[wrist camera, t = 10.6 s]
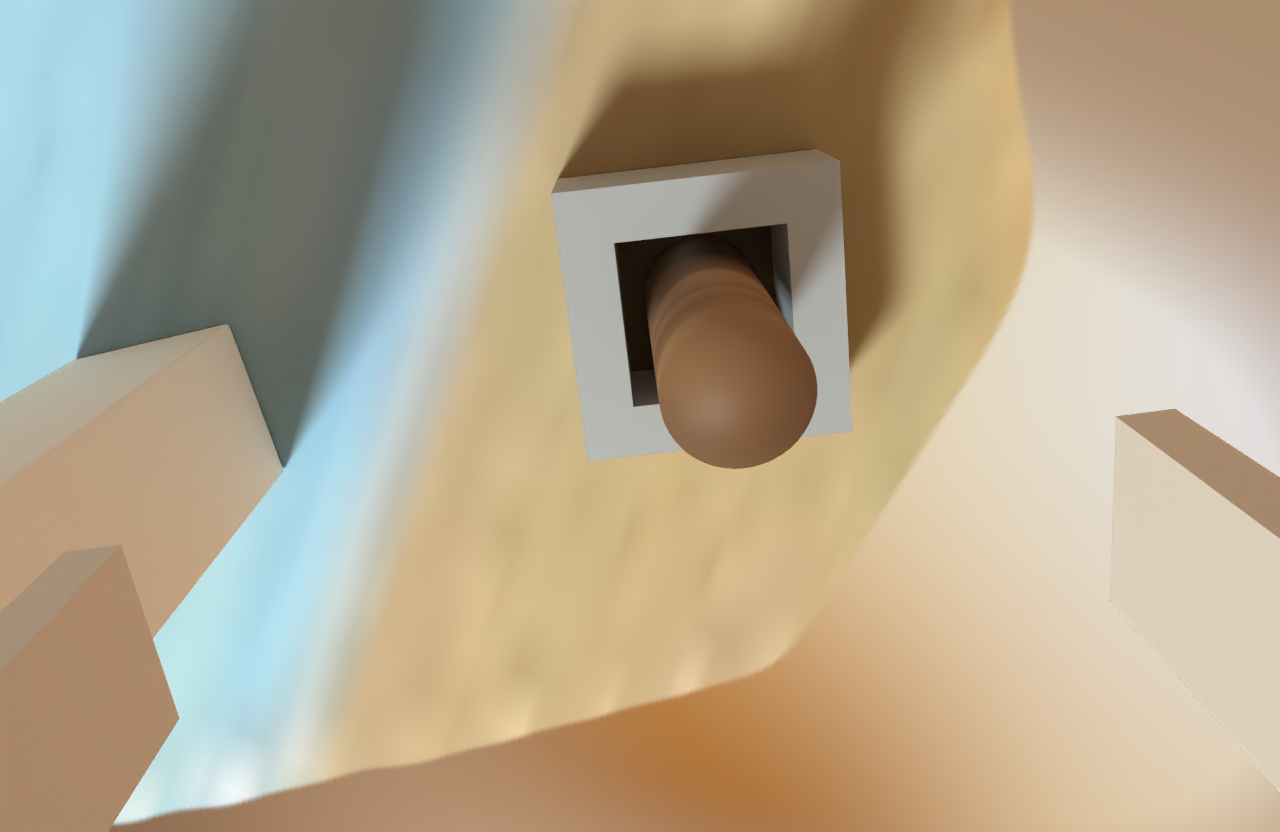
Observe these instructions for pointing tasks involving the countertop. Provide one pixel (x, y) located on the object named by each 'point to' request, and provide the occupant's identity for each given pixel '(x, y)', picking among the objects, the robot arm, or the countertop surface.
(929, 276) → the countertop surface
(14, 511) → the milk
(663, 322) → the peg
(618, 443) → the socket block
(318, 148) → the countertop surface
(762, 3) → the countertop surface
